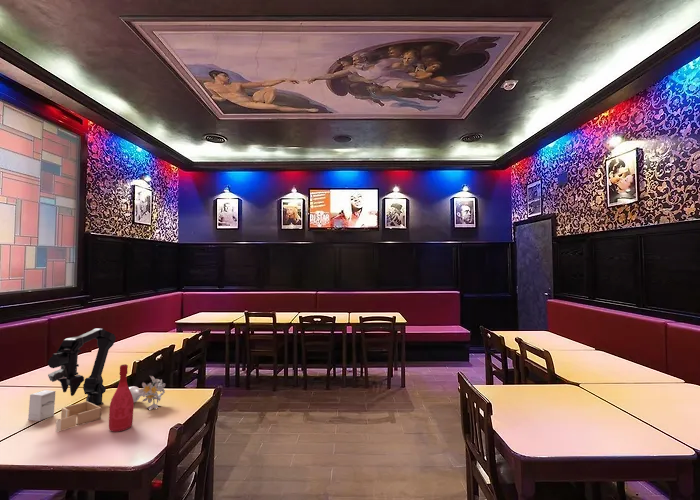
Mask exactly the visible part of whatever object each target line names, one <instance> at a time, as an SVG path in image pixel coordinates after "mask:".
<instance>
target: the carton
mask: <svg viewBox="0 0 700 500" xmlns="http://www.w3.org/2000/svg"><path fill="white" fill-rule="evenodd" d="M63 408H66V409H68V410H70V412H69V416H73V415H76V427H78V426H82V425H84V424H87V423H92V422H94V421H97V420H101V419H102V407H101V406H99V405H95V404H92V403H90V402H88V401H86V400H85V401H83V402H78V403H76V404H70V405H67V406H64V407H63Z"/></svg>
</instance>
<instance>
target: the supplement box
mask: <svg viewBox="0 0 700 500" xmlns="http://www.w3.org/2000/svg"><path fill="white" fill-rule="evenodd" d="M55 402H56V390H48V389H44V390H42V391H39V392H38V391H37V392H34V393H31V394H30V395H29V402H28V403H29V405H28V417H27V420H29V421H35V422H41V421H43V420H45V419H48V418H50V417H54V415H55V404H56V403H55Z"/></svg>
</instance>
